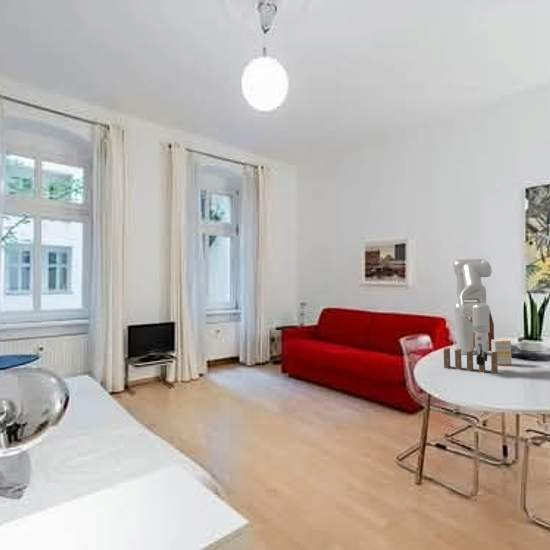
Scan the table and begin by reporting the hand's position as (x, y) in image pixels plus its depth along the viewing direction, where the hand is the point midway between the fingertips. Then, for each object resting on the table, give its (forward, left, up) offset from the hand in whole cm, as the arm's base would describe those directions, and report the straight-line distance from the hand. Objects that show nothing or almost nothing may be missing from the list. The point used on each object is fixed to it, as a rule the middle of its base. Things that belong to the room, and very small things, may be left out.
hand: (482, 362), depth 195 cm
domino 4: (0, 0, -4) cm, 4 cm away
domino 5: (+4, +4, -4) cm, 7 cm away
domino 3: (-4, -4, -4) cm, 7 cm away
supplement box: (-11, +19, -5) cm, 23 cm away
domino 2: (-8, -8, -4) cm, 12 cm away
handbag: (-54, +39, -5) cm, 67 cm away
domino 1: (-12, -12, -4) cm, 17 cm away
